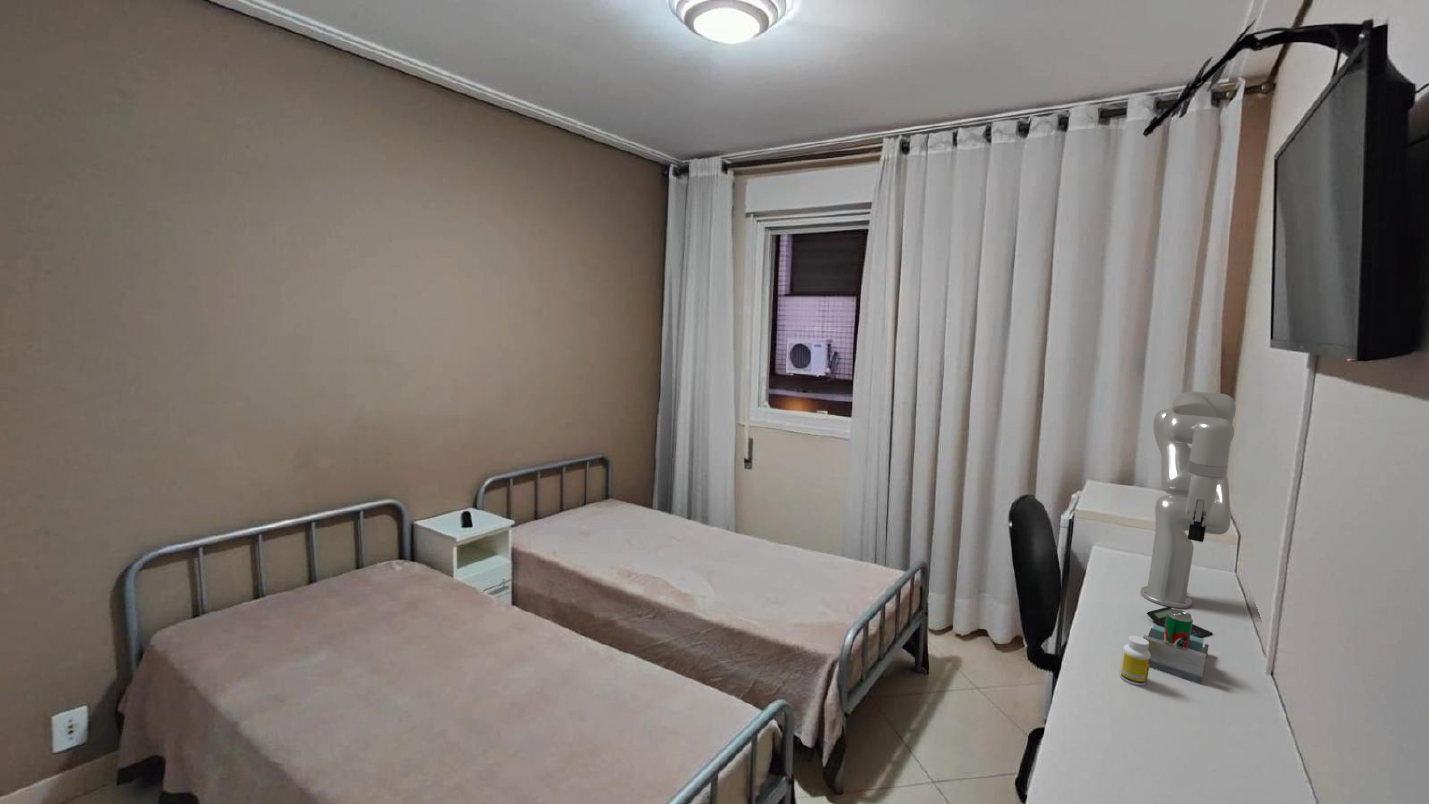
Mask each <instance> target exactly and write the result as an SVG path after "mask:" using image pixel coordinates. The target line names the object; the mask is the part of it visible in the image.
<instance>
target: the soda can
mask: <svg viewBox="0 0 1429 804" xmlns="http://www.w3.org/2000/svg"><path fill="white" fill-rule="evenodd" d="M1193 622H1194V620H1193V618H1192V614H1191V613H1189V612H1187V611H1185V610H1183V609H1180V608H1177V609H1176V608H1172V609H1170V610H1169V612H1168V613H1167V616H1166V622H1165V629H1164V635H1163V641H1166V642H1169V643H1172V644H1175V645H1179V646H1182V647H1185V648H1189V642H1190V636H1191V629H1192V624H1193Z"/></svg>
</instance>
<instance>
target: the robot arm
mask: <svg viewBox="0 0 1429 804" xmlns="http://www.w3.org/2000/svg"><path fill="white" fill-rule="evenodd" d="M1236 407H1237V406H1236V401H1235V400H1234V399H1233V397H1232V396H1230V395H1228V394H1225V393H1217V392H1205V391H1184V392H1182V393H1179V394H1177V395H1176V396H1175V397H1174V399H1173V401H1172V407H1170V408H1165V409H1161V410H1158V412H1156V414H1155V415H1154V419H1153V434H1154V439H1155V441H1156V444H1157V447H1158V449H1159V453H1160V457H1161V458H1160V459H1161V461H1160V465H1161V469H1160V471H1161V473H1160V475H1161V477H1160V478H1161V480H1160V481H1161V488H1162V490H1163V491H1164V492H1165V493H1166V495H1163V496H1161V497H1159V498H1158V499H1157V501H1156V503H1155V507H1154V509H1155V510H1154V511H1155V512H1154V513H1155V514H1154V515H1155V528H1154V529H1155V531H1154V532H1155V533H1154V539H1153V547H1152V554H1151V561H1150V566H1149V567H1150V568H1149V574H1148V575H1149V576H1148V581H1147V585H1146V586H1142V587H1141V588H1140V594H1141V596H1142V597H1143V598H1145V599H1147V600H1148V601H1149V602H1152V603H1156V604H1158V605H1161V606H1166V607H1171V608H1174V609H1176V608H1177V609H1186V608H1190V607H1191V606H1192V605H1193V601H1192V599H1191V598H1190V596H1187V594H1188V593H1187V592H1188V586H1189V581H1190V575H1191V568H1192V562H1193V555H1194V543H1193V541H1194V542H1199V543H1204V540H1205V537H1206V536H1205V535H1206V534H1209V535H1215V536H1216V535H1217V536H1218V535H1224V534H1227V532H1228V531H1229V529H1230V526H1231V505H1230V504H1231V503H1230V501H1231V500H1230V487H1229V485H1230V484H1229V480H1228V477H1227V475H1226V473H1227V467H1228V461H1229V455H1230V448H1231V442H1232V441H1233V439H1234V436H1235V427H1234V425H1233V424H1232V422H1233V420H1234V419H1235V415H1236V410H1237V408H1236ZM1190 445H1191V447H1190ZM1167 494H1168V495H1167ZM1186 531H1188V534H1187V533H1186Z"/></svg>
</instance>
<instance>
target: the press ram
mask: <svg viewBox="0 0 1429 804" xmlns="http://www.w3.org/2000/svg"><path fill="white" fill-rule="evenodd" d="M1151 628H1152V634H1151V637H1152V638H1156V639H1159V640H1162V641H1163V635H1164V629H1165V628H1164V627H1161V626H1158V625H1157V624H1153V626H1152V627H1151ZM1204 641H1205V639H1204V638H1203V637H1202V638H1198V637H1195V636H1192V635H1191V636H1190V642H1189V648H1188V649H1192V650H1195V651H1198V652H1201V653H1202V647H1204Z"/></svg>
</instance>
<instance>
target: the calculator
mask: <svg viewBox="0 0 1429 804" xmlns="http://www.w3.org/2000/svg"><path fill="white" fill-rule="evenodd" d="M1170 609H1173V607H1169V606H1166V607H1163V608H1159V609H1155V610H1150V611H1148V612H1146V615H1147V616H1148V617H1149V618H1150V620H1152V621H1153V622H1154V623H1155V625H1158V626H1161V627H1164V628H1165V622H1166V616H1167V613H1168V612H1169V610H1170ZM1191 635H1192V636H1195V637H1198V638H1202V639H1203V638H1204V637H1205V638H1206V637H1209V636H1212V635H1213V632H1212V631H1210V630H1208V629H1205V628H1203V627H1201V626H1199V625H1196V624H1193V623H1192V629H1191Z"/></svg>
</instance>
